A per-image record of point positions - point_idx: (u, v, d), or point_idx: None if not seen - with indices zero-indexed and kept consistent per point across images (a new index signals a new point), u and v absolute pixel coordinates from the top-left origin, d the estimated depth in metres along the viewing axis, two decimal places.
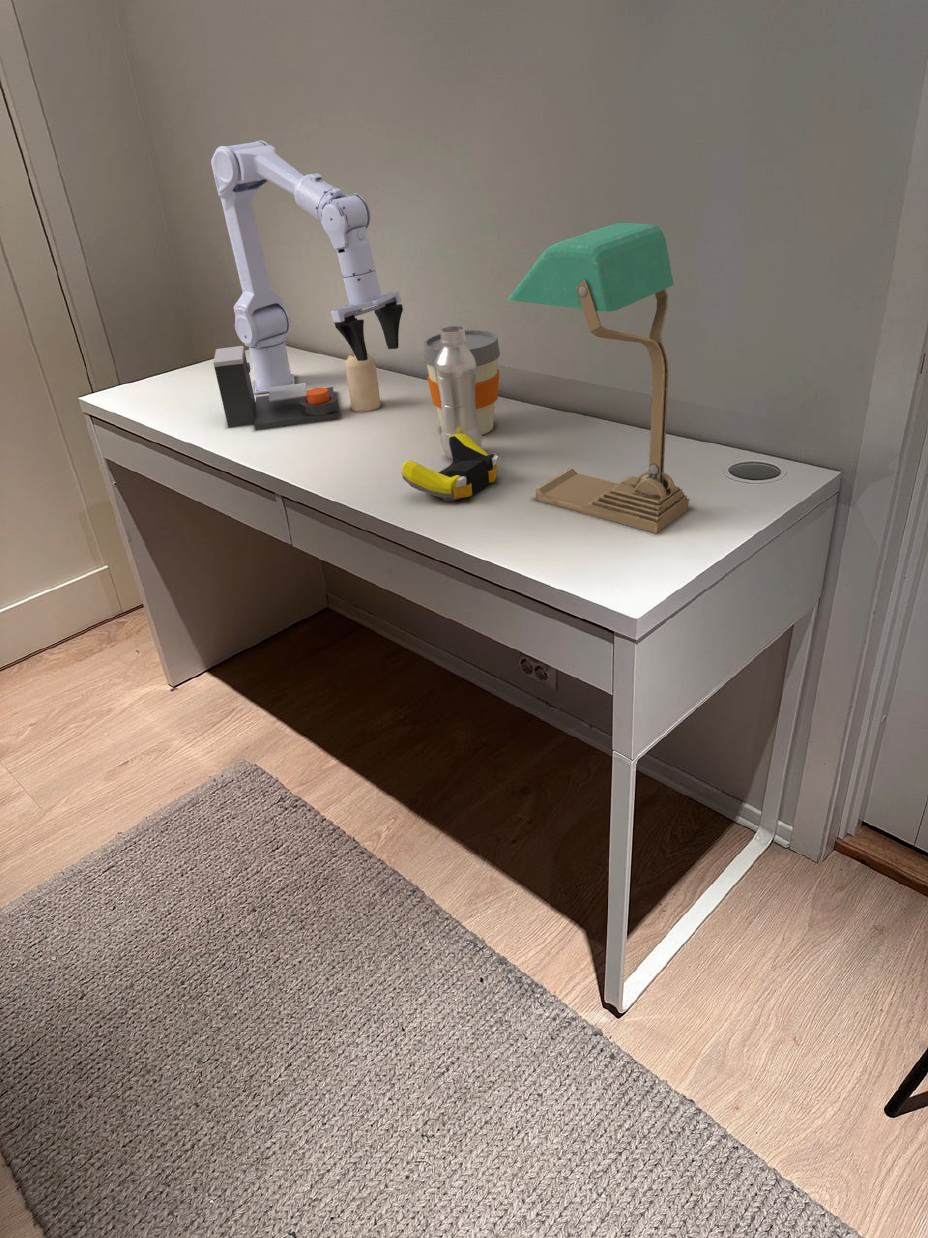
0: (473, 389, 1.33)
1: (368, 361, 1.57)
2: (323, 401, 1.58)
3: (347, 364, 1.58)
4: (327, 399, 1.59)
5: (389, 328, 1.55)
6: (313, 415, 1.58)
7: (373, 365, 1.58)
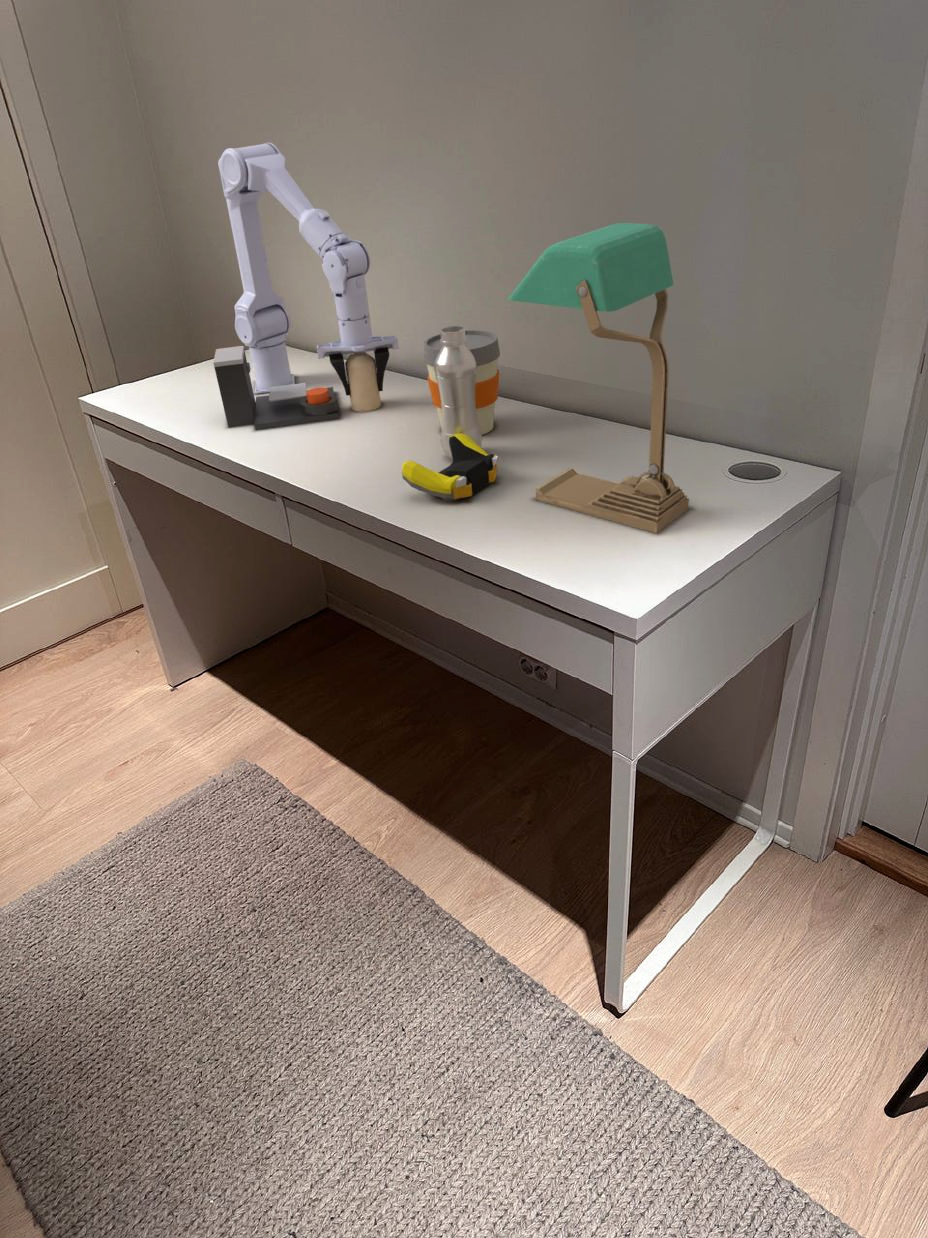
0: (473, 389, 1.33)
1: (368, 361, 1.57)
2: (323, 401, 1.58)
3: (347, 364, 1.58)
4: (327, 399, 1.59)
5: (377, 371, 1.60)
6: (313, 415, 1.58)
7: (373, 365, 1.58)
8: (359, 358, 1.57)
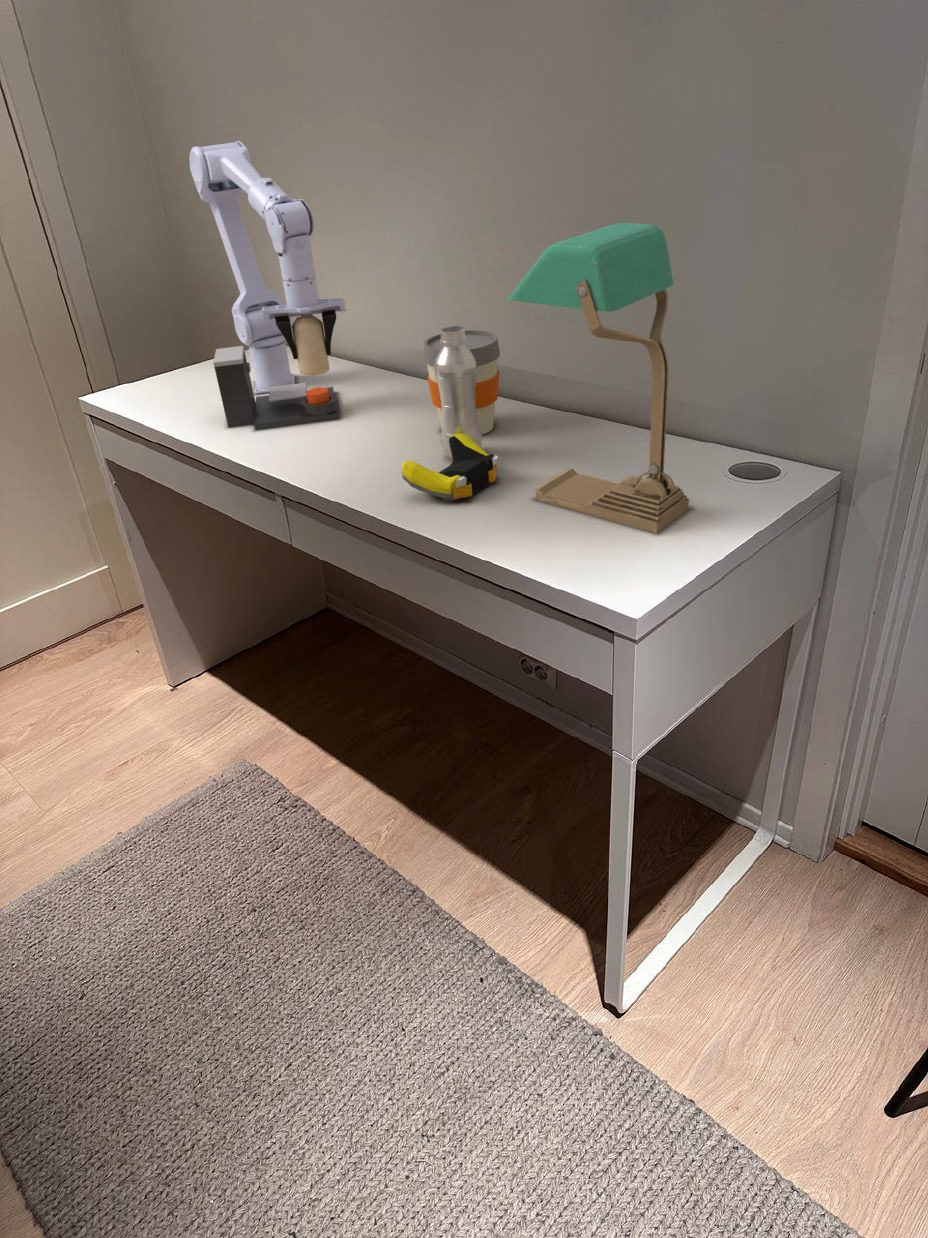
0: (473, 389, 1.33)
1: (315, 324, 1.55)
2: (323, 401, 1.58)
3: (294, 327, 1.56)
4: (327, 399, 1.59)
5: None
6: (313, 415, 1.58)
7: (320, 328, 1.56)
8: (305, 320, 1.55)
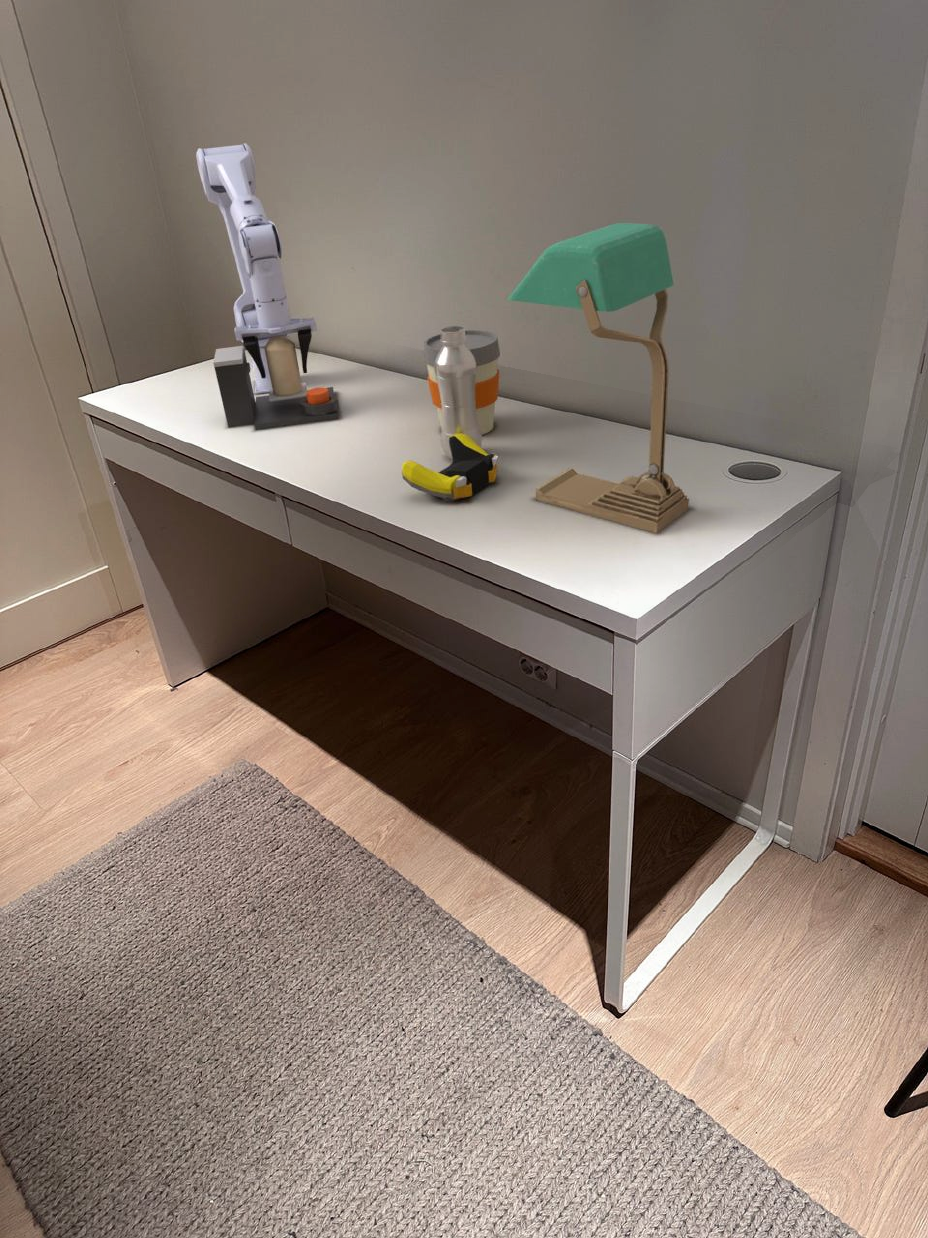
0: (473, 389, 1.33)
1: (287, 345, 1.58)
2: (323, 401, 1.58)
3: (266, 348, 1.59)
4: (327, 399, 1.59)
5: None
6: (313, 415, 1.58)
7: (292, 349, 1.59)
8: (277, 342, 1.58)
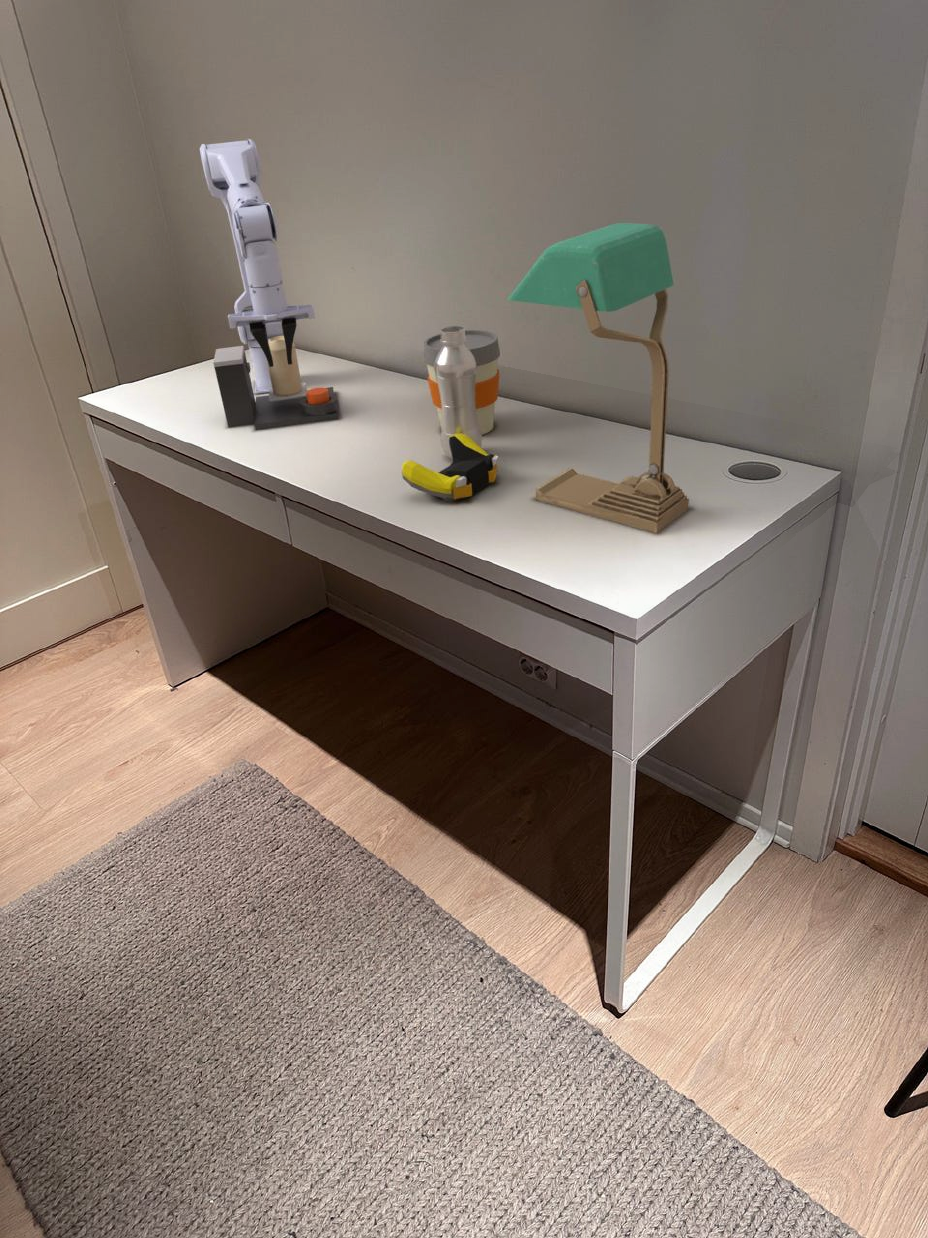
0: (473, 389, 1.33)
1: None
2: (323, 401, 1.58)
3: None
4: (327, 399, 1.59)
5: None
6: (313, 415, 1.58)
7: (292, 349, 1.59)
8: (277, 342, 1.58)
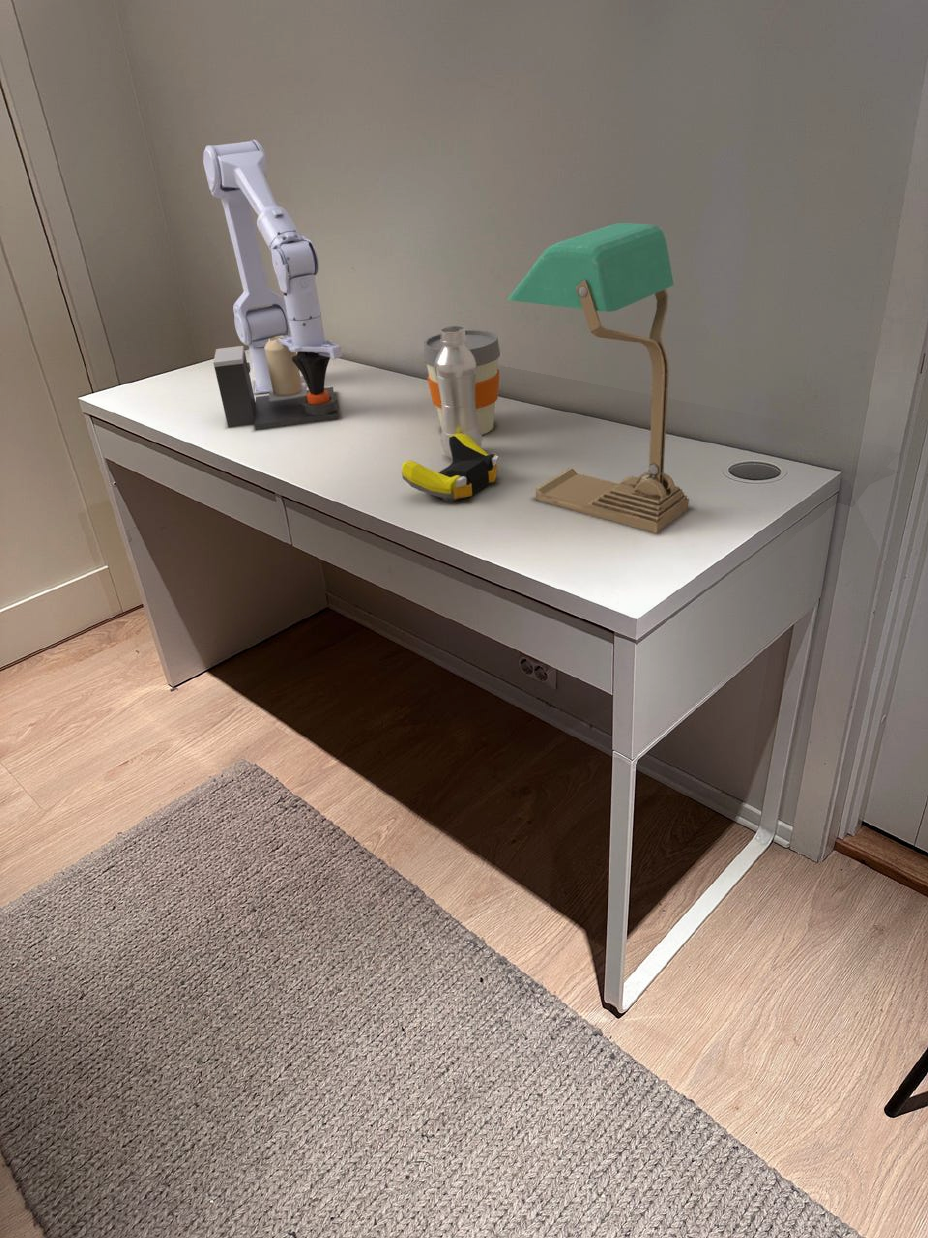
0: (473, 389, 1.33)
1: None
2: None
3: (266, 348, 1.59)
4: (327, 401, 1.59)
5: None
6: (313, 415, 1.58)
7: None
8: (277, 342, 1.58)
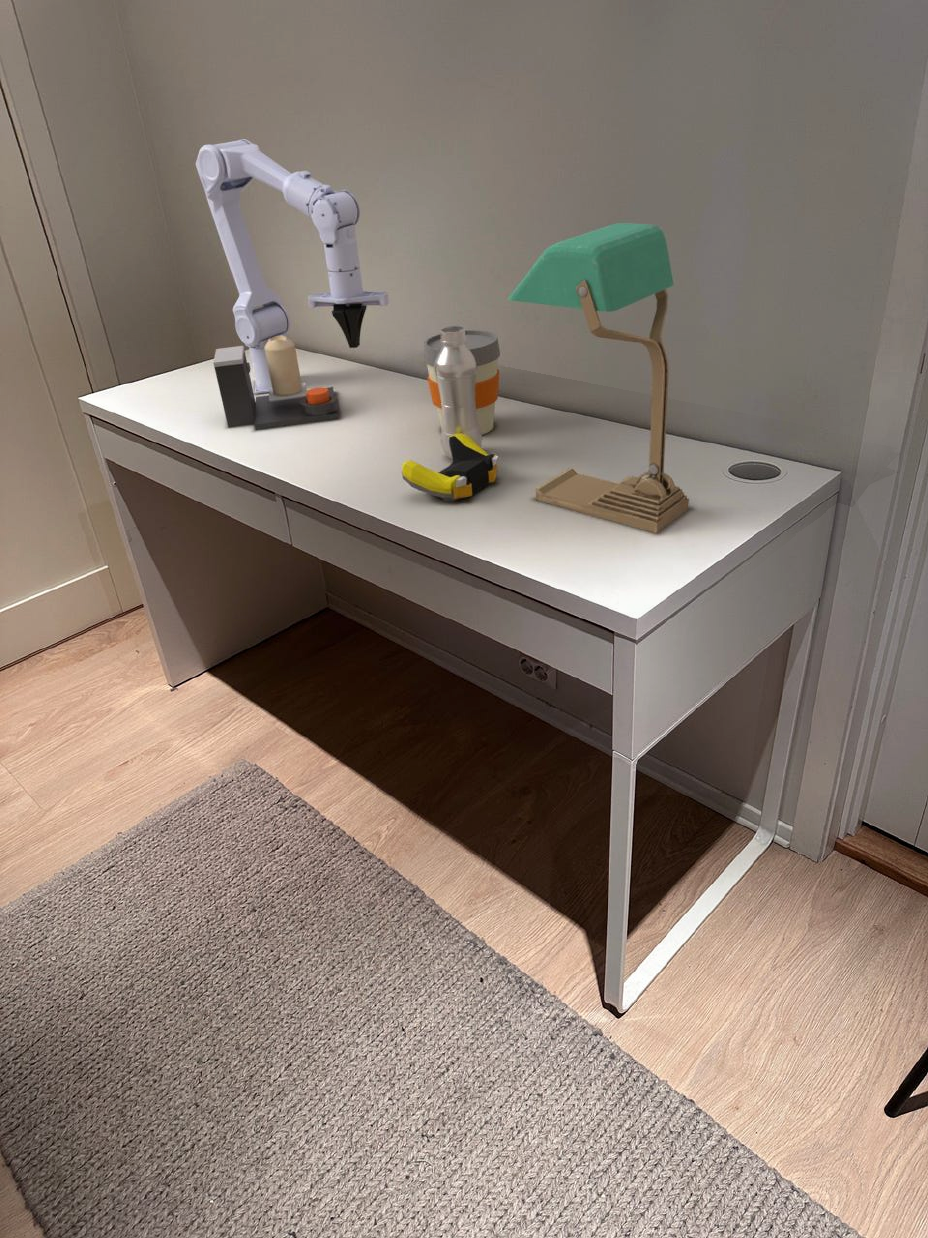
0: (473, 389, 1.33)
1: (287, 345, 1.58)
2: (323, 401, 1.58)
3: (266, 348, 1.59)
4: (327, 399, 1.59)
5: None
6: (313, 415, 1.58)
7: (292, 349, 1.59)
8: (277, 342, 1.58)
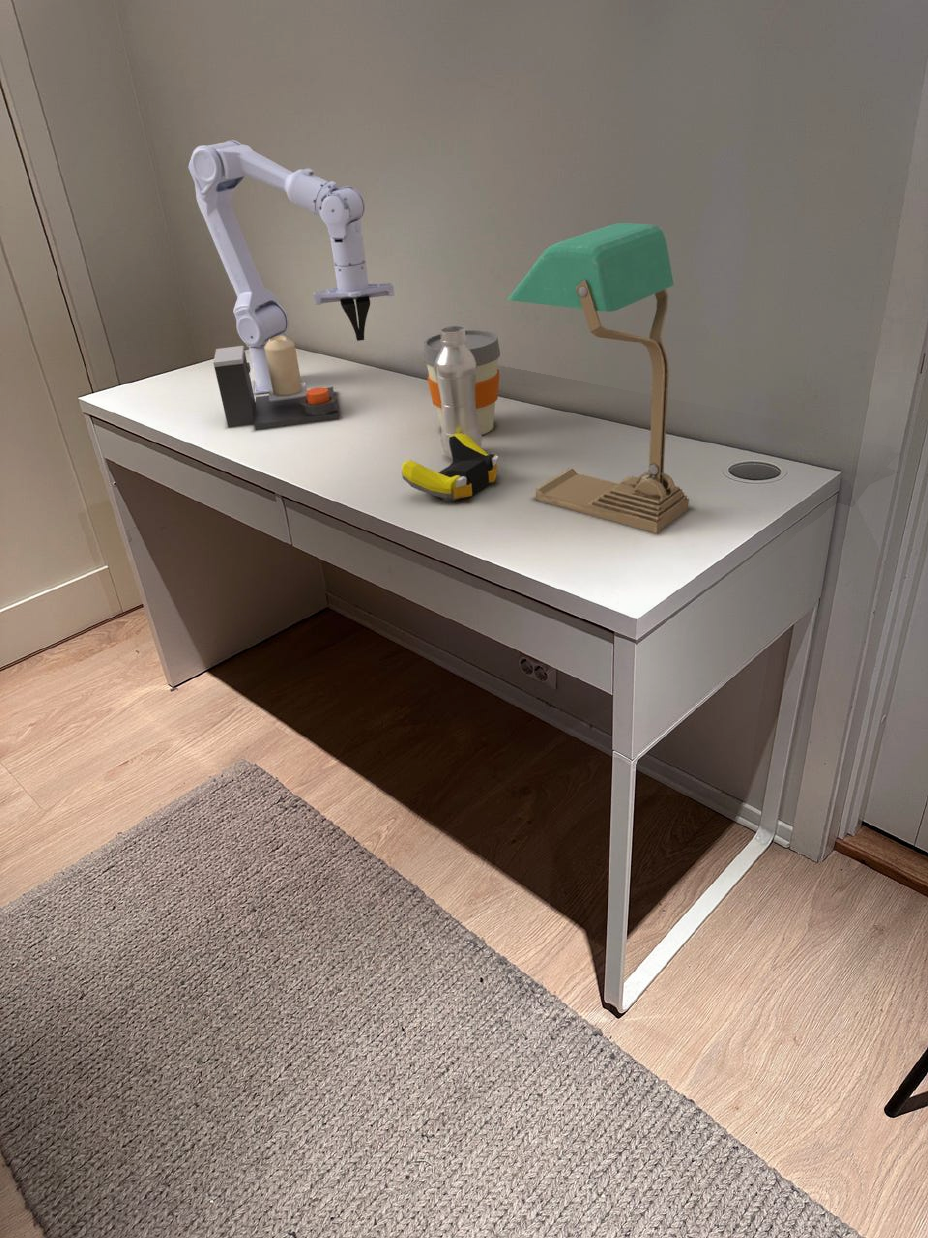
0: (473, 389, 1.33)
1: (287, 345, 1.58)
2: (323, 401, 1.58)
3: (266, 348, 1.59)
4: (327, 399, 1.59)
5: None
6: (313, 415, 1.58)
7: (292, 349, 1.59)
8: (277, 342, 1.58)
